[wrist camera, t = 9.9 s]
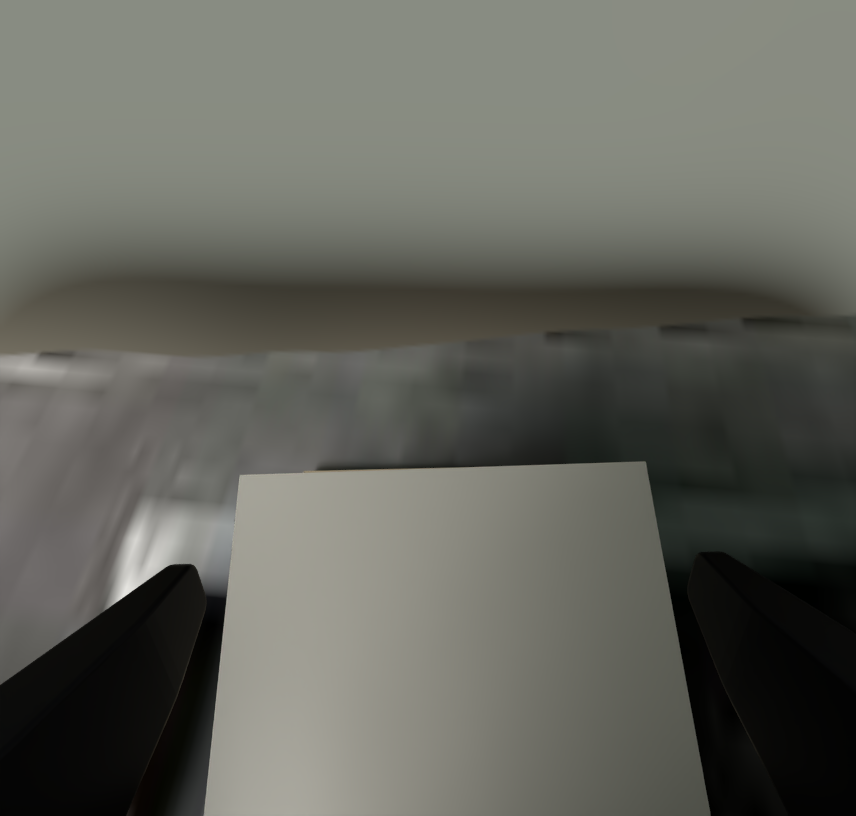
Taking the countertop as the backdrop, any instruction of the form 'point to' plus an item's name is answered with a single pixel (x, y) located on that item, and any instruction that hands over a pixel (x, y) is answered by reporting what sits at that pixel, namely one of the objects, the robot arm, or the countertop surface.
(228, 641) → the tall pale rectangular prism
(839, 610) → the countertop surface
